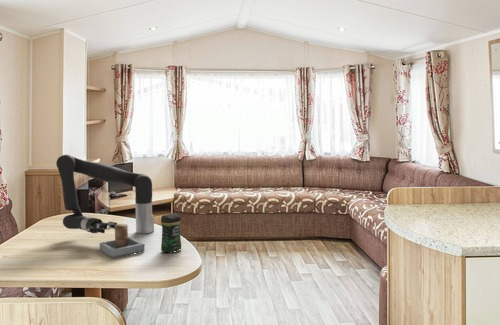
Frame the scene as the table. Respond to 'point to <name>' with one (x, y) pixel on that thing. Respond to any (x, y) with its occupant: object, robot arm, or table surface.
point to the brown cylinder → (121, 235)
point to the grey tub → (132, 248)
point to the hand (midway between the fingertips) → (111, 229)
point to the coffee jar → (171, 232)
